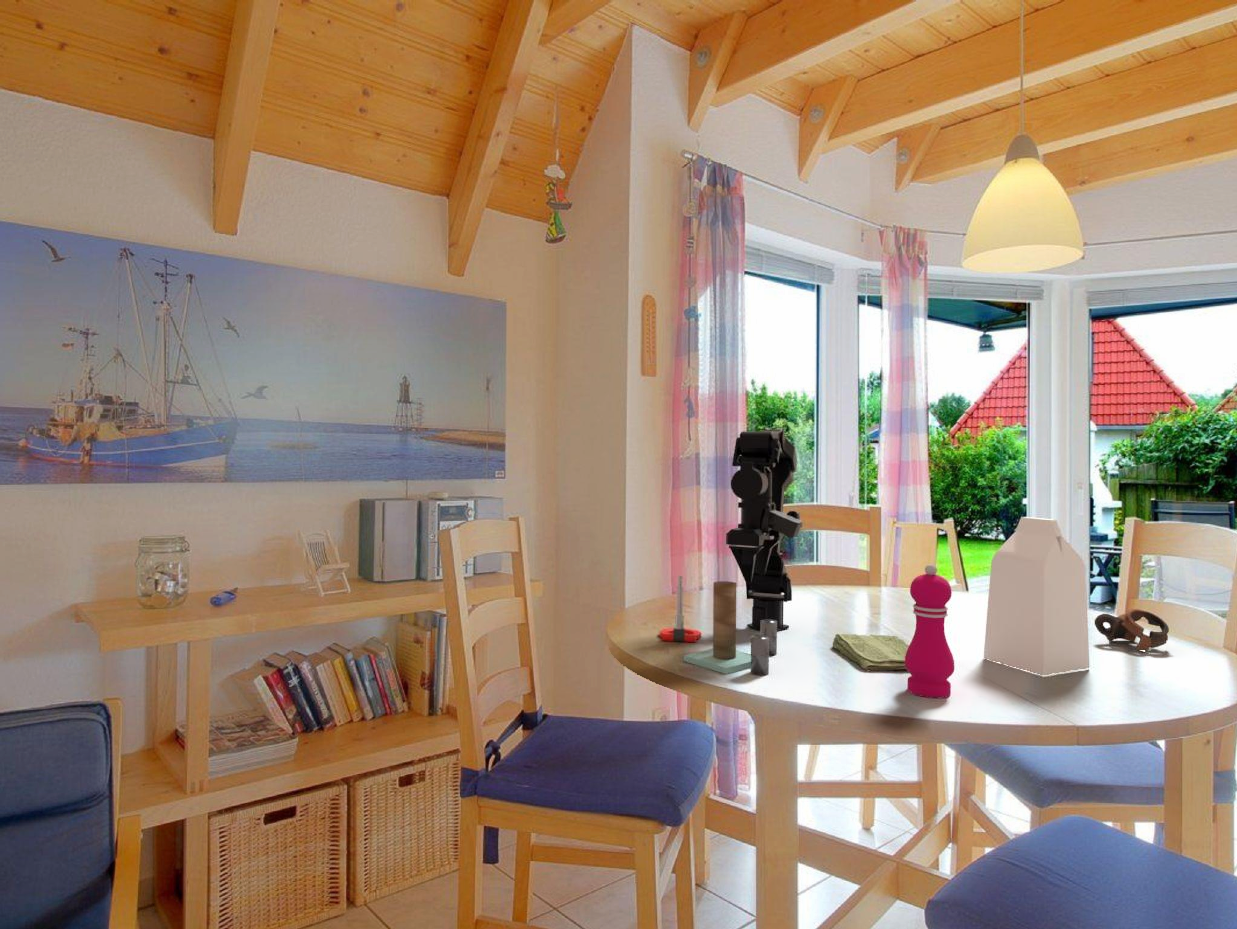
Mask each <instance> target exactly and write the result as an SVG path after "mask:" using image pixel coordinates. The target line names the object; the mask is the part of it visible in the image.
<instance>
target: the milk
mask: <svg viewBox="0 0 1237 929" xmlns="http://www.w3.org/2000/svg"><path fill="white" fill-rule="evenodd" d="M1086 574H1087V571H1086V565H1085V561H1084V560H1083V558H1082V556H1080V554H1079V553H1078V552H1077V550H1076V549H1074V548H1073V547H1072V545H1071V544H1070V543H1069V542H1068V541H1067V540H1066V539H1065V538H1064V537H1063V534H1062V532H1061V529H1060V527H1059V524H1058V521H1057V519H1052V518H1051V519H1050V518H1042V517H1030V516H1021V517H1020V520H1019V521H1018V524H1017V526H1016V529H1015V532H1014V533H1012V534H1011V536H1010V537H1009V538H1008V539H1007V540H1006V541H1004V543H1003V544H1002V545H1001V546H1000V547H999V548H998V550H997V551H996V552H995V553H994V554H993V556H992V559H991V562H990V574H989V585H988V586H989V588H988V599H987V610H986V611H987V612H986V620H985V621H986V624H985V635H984V648H983V658H985V659H989V660H991V661H995V662H1000V663H1001V664H1006V665H1008V666H1012V667H1016V668H1019V669H1023V670H1027V671H1030V672H1033V673H1037V674H1040V675H1049V674H1052V673H1059V672H1066V671H1070V670H1078V669H1086V668H1089V667H1090V648H1089V647H1090V646H1089V625H1088V623H1089V621H1088V619H1089V618H1088V599H1087V598H1088V597H1087V593H1088V592H1087V577H1086V576H1087V575H1086ZM985 659H984V660H985ZM991 661H990V662H991ZM995 662H994V663H995ZM1001 664H1000V665H1001ZM1008 666H1007V667H1008Z"/></svg>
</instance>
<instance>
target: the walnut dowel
mask: <svg viewBox="0 0 1237 929" xmlns="http://www.w3.org/2000/svg"><path fill="white" fill-rule="evenodd" d="M712 586H713V588H712V589H713V595H712V596H713V604H712V605H713V606H712V607H713V609H712V610H713V611H712V616H713V617H712V620H713V622H712V625H713V626H712V649H713V657H714V658H717V659H723V660H730V659H734V658H736V650H737V583H736V582H734V581H729V580H728V581H727V580H726V581H723V580H721V581H714V582H713V585H712Z"/></svg>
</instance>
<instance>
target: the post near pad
mask: <svg viewBox="0 0 1237 929" xmlns="http://www.w3.org/2000/svg"><path fill="white" fill-rule="evenodd" d="M750 654H751V668H750V674H751V675H755V676H767V675H769V672H770V670H769V668H770V666H769V665H770V656H769V637H767V636H762V635H760V634H759V635H758V634H757V635H755V634H754V635H752V636H750Z"/></svg>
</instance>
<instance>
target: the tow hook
mask: <svg viewBox="0 0 1237 929" xmlns="http://www.w3.org/2000/svg"><path fill="white" fill-rule="evenodd" d="M677 578H678V579H677V586H676V614H675V616H674V624H675V625H674V627H673V628H663V629H662V630H659V636H660V637H661V640H662V642H674V643H696V642H697V640H698V639H701V638H702V632H701V630H697V629H693V628H692V629H691V628H685V627H684V623H685V622H684V618H685V616H684V615H683V611H684V610H683V609H684V608H683V606H684V604H683V603H684V600H683V598H684V586H683V575H678V576H677ZM686 633H688V634H686Z"/></svg>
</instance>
